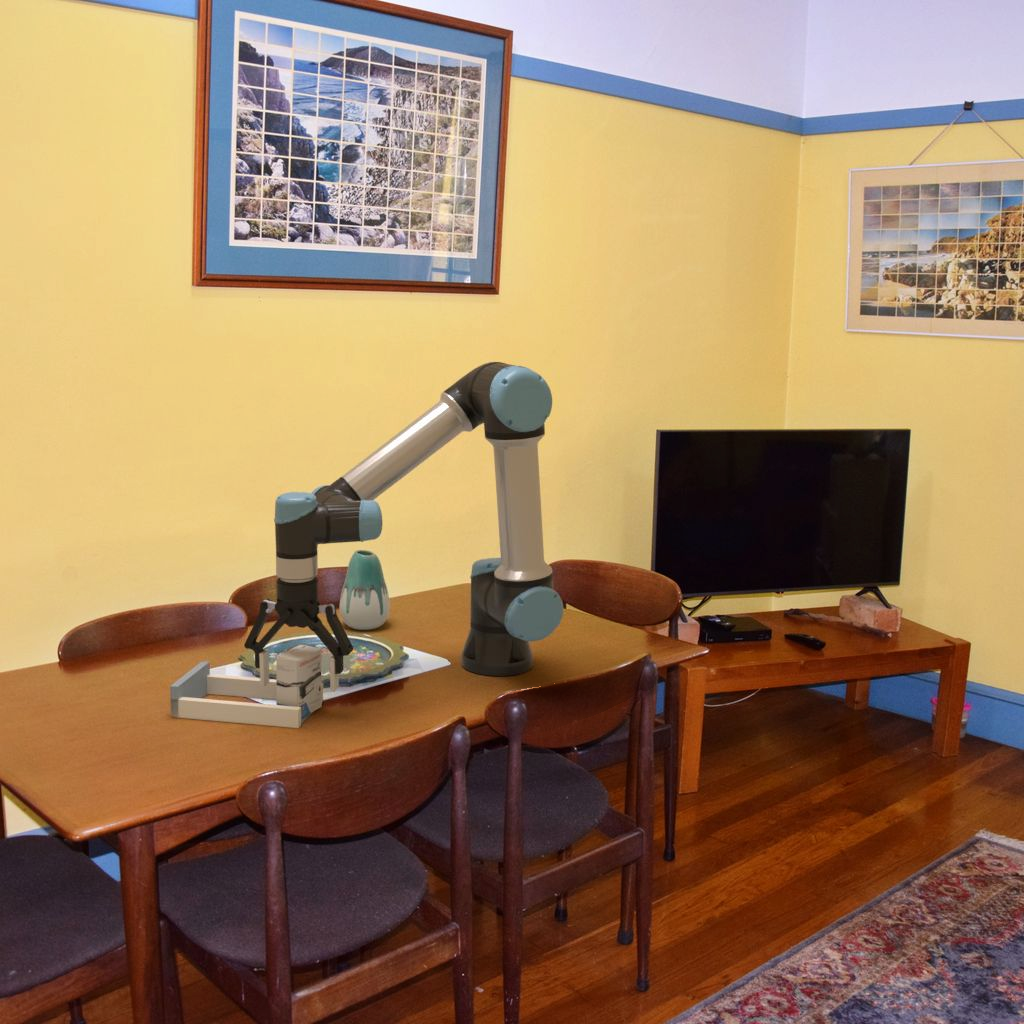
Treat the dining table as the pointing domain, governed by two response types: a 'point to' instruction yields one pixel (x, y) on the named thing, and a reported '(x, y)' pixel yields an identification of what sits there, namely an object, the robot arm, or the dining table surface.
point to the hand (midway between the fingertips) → (299, 687)
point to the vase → (364, 593)
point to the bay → (202, 682)
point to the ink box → (300, 678)
